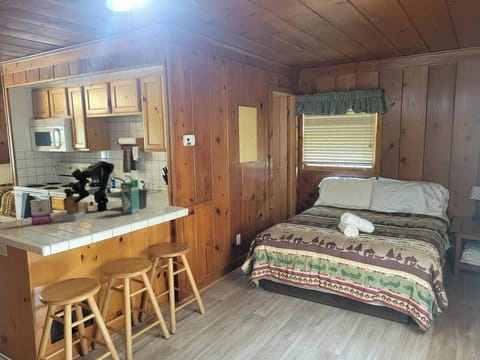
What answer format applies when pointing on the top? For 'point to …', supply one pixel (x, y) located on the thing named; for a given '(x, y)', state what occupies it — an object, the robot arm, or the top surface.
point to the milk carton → (130, 197)
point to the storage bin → (142, 198)
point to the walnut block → (72, 205)
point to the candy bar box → (40, 211)
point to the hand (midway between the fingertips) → (71, 202)
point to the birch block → (83, 207)
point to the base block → (73, 216)
